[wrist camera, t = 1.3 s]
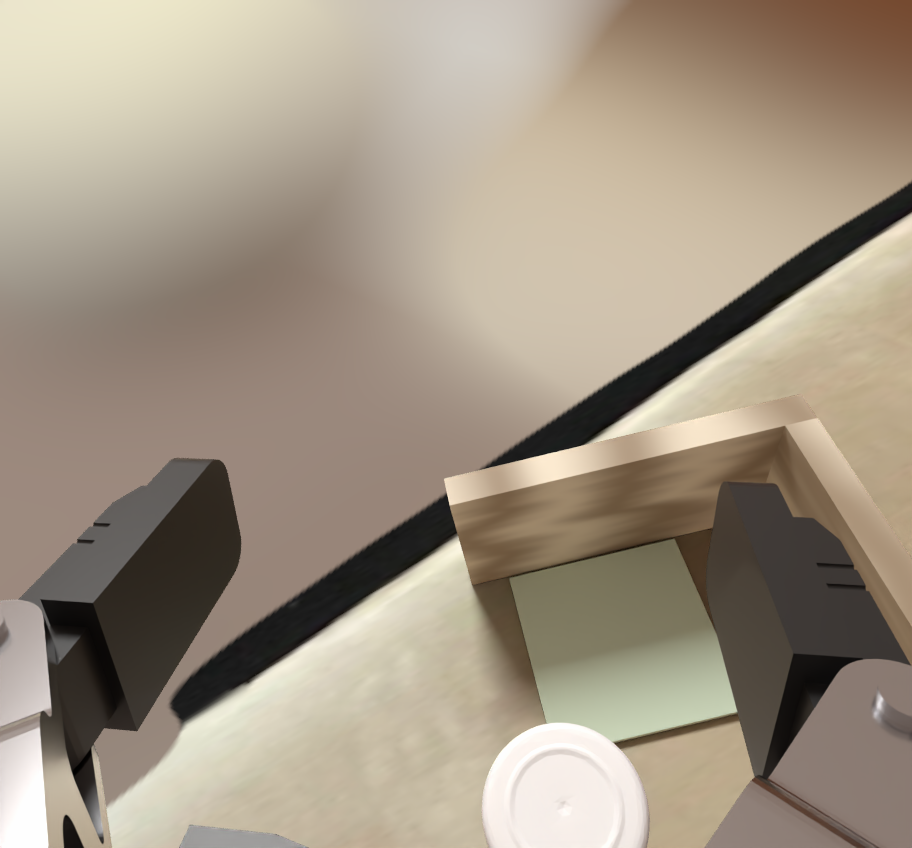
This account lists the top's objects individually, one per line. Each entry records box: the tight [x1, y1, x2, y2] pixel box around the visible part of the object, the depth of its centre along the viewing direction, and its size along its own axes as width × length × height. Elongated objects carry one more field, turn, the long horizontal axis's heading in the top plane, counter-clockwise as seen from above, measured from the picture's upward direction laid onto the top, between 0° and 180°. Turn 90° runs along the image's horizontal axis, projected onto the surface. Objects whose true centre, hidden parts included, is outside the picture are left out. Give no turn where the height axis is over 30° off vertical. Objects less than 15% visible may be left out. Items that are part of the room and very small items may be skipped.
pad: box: [509, 539, 738, 743], centre depth 35 cm, size 9×9×1 cm
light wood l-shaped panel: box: [444, 394, 912, 666], centre depth 31 cm, size 17×18×8 cm
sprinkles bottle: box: [482, 723, 650, 848], centre depth 24 cm, size 5×5×13 cm
